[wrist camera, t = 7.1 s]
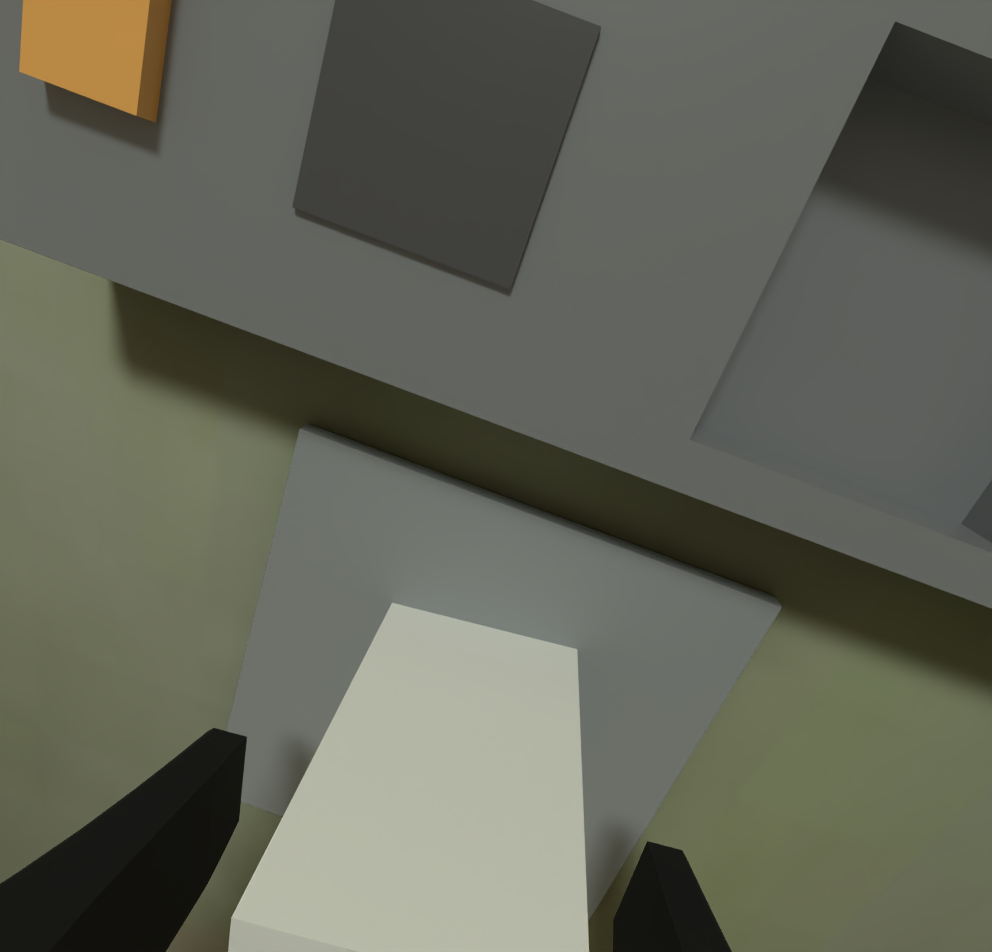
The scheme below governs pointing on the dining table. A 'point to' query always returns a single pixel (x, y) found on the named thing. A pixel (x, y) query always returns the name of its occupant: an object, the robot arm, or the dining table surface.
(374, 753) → the block
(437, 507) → the pad
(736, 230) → the power strip
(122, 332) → the dining table surface
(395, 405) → the dining table surface
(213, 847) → the robot arm
